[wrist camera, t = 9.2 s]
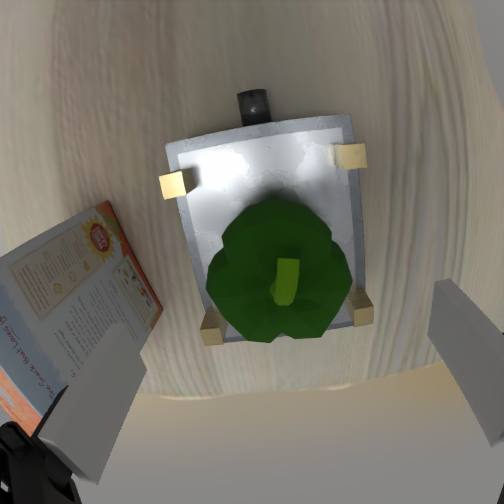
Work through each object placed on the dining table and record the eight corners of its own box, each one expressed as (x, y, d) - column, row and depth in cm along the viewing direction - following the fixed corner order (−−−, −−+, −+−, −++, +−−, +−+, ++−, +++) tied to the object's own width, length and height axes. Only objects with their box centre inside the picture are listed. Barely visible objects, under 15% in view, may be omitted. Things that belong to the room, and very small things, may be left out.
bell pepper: (300, 307, 25) (313, 395, 16) (208, 267, 24) (174, 344, 15) (351, 219, 22) (403, 274, 13) (252, 169, 21) (240, 193, 12)
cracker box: (72, 219, 30) (-70, 306, 11) (110, 198, 29) (-48, 284, 10) (125, 322, 35) (41, 455, 15) (165, 310, 34) (87, 463, 14)
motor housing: (179, 113, 26) (142, 103, 18) (328, 88, 25) (354, 66, 16) (223, 310, 33) (209, 365, 25) (350, 292, 32) (374, 344, 23)
